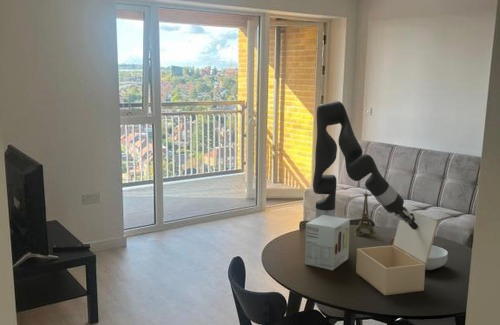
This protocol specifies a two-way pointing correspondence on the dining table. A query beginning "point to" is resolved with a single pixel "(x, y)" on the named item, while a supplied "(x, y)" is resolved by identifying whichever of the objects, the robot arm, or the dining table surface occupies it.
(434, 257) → the cereal bowl
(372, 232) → the eiffel tower
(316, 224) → the supplement box
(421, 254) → the mailer lid
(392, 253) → the mailer box
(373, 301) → the dining table surface
